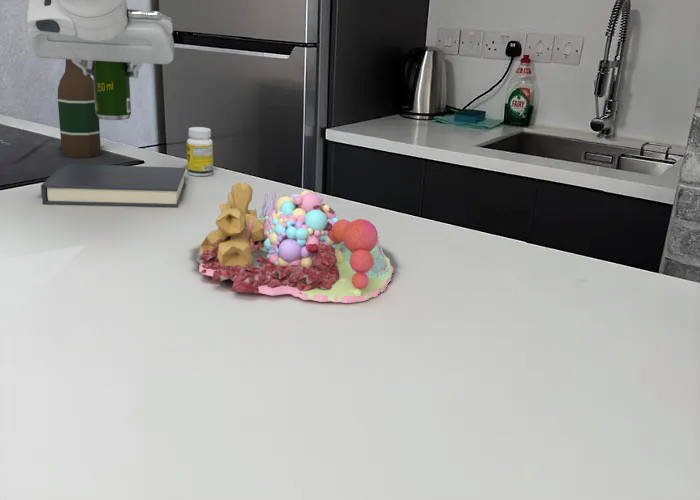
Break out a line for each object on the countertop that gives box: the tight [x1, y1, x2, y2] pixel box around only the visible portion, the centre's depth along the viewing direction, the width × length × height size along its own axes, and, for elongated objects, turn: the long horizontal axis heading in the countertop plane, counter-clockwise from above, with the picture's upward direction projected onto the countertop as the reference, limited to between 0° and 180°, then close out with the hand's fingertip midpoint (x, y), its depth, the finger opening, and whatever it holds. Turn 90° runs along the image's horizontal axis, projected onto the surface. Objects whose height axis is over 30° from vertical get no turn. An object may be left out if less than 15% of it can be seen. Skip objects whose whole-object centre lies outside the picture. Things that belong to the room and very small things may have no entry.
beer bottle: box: [57, 59, 101, 159], centre depth 132 cm, size 8×8×24 cm
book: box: [40, 163, 186, 208], centre depth 111 cm, size 20×14×3 cm
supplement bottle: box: [186, 126, 214, 177], centre depth 126 cm, size 5×5×8 cm
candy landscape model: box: [196, 182, 395, 304], centre depth 86 cm, size 25×24×9 cm
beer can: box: [92, 61, 132, 121], centre depth 107 cm, size 5×5×12 cm
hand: (111, 73), depth 107 cm, fingers closed on beer can, 5 cm apart
